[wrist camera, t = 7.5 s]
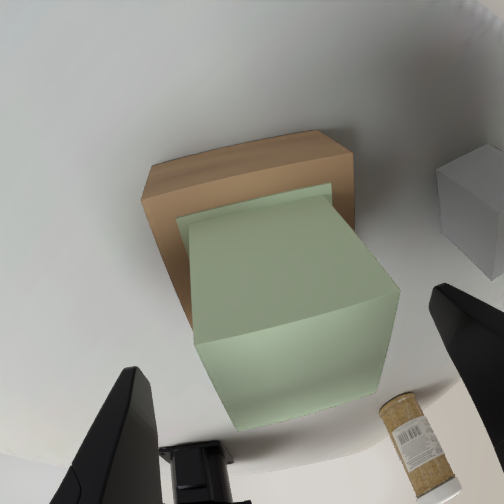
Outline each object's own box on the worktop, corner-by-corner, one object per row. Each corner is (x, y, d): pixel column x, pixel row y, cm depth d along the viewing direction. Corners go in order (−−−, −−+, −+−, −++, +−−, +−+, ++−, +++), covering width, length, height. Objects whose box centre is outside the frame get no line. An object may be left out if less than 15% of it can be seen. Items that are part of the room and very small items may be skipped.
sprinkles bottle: (378, 418, 32) (419, 514, 21) (378, 404, 29) (425, 512, 18) (412, 401, 31) (457, 494, 20) (416, 385, 29) (468, 488, 18)
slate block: (488, 203, 17) (539, 244, 13) (441, 232, 17) (491, 281, 13) (486, 143, 14) (548, 177, 10) (434, 168, 15) (498, 212, 11)
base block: (326, 261, 17) (352, 305, 14) (195, 293, 16) (198, 345, 14) (317, 129, 13) (354, 153, 10) (151, 166, 12) (140, 201, 10)
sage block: (325, 293, 13) (375, 392, 9) (219, 320, 13) (237, 431, 9) (322, 194, 11) (400, 290, 6) (188, 224, 10) (194, 345, 6)
